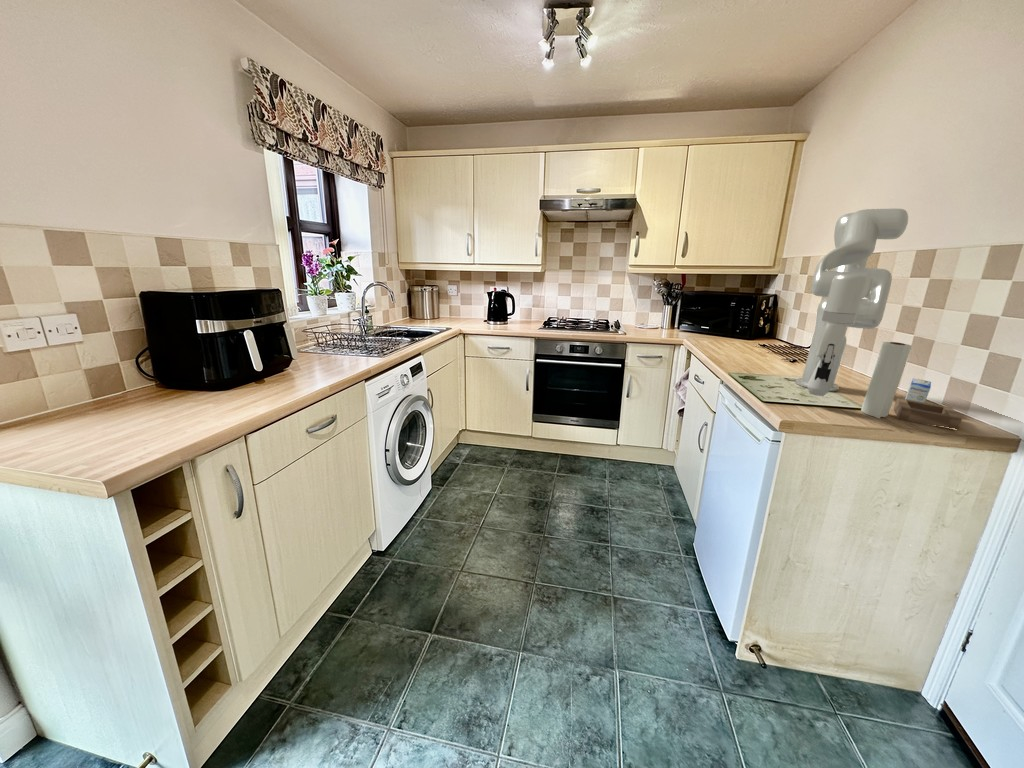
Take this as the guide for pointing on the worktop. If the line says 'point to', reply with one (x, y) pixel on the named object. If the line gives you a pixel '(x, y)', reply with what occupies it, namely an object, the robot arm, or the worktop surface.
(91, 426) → the worktop surface
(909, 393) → the medicine box
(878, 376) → the paper towel roll
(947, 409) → the holder
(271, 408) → the worktop surface
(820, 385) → the salt shaker
